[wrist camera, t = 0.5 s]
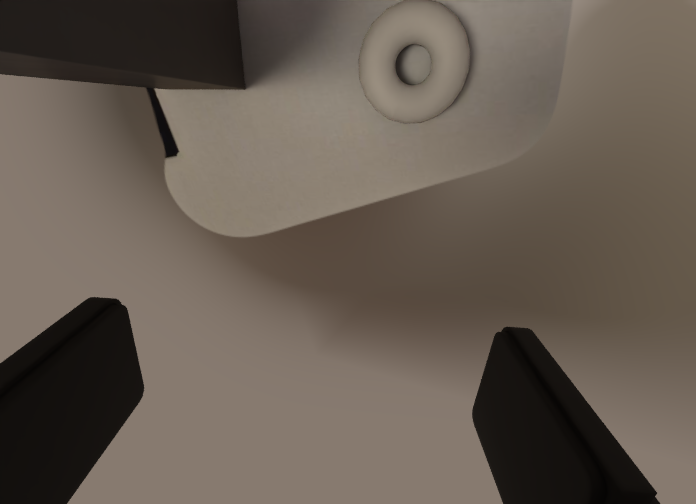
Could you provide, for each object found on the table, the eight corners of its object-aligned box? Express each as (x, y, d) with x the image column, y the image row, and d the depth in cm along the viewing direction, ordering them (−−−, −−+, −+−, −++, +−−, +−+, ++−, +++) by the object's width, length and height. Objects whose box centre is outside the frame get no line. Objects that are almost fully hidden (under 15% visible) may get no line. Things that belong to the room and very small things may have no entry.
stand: (146, -10, 31) (-571, -410, 7) (235, -10, 31) (-182, -417, 7) (164, 89, 34) (-289, 48, 10) (245, 89, 34) (-18, 48, 10)
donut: (473, 10, 31) (363, -2, 31) (488, -1, 28) (365, -15, 28) (451, 127, 35) (353, 118, 35) (461, 129, 32) (353, 119, 31)
